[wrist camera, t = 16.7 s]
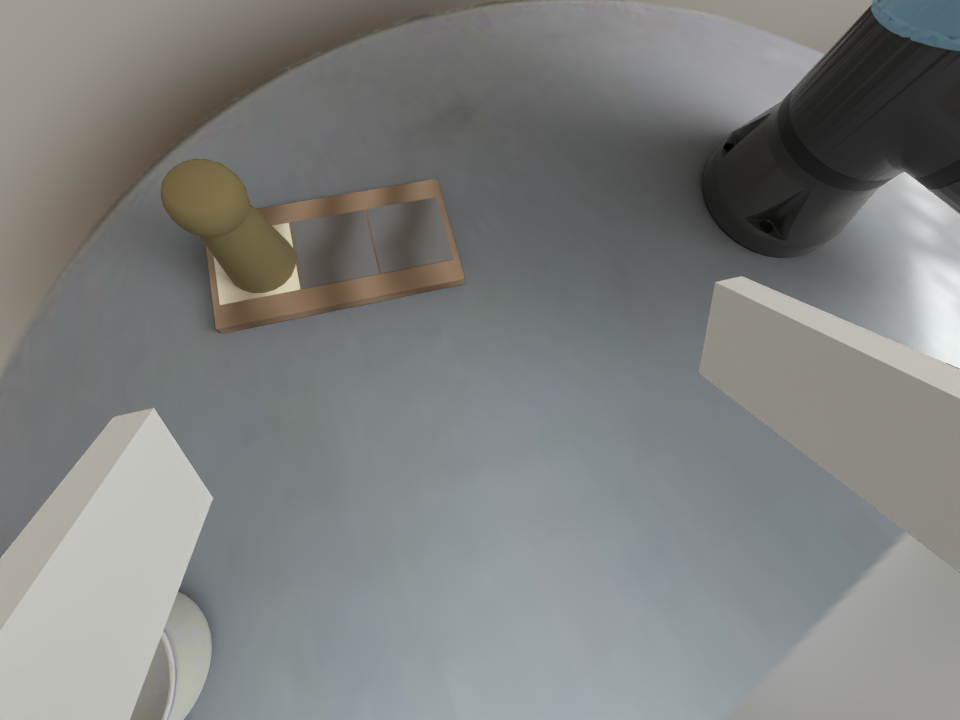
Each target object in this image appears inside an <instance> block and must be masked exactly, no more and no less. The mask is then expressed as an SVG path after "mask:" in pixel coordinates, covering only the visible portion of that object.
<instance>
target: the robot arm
mask: <svg viewBox="0 0 960 720" xmlns="http://www.w3.org/2000/svg"><path fill="white" fill-rule="evenodd" d="M902 172H906V173H908V174H909V175H910V176H912V177H913V178H915V179H916V180H917V181H918V182H920V183H921V184H922V185H924V186H925V187H926V188H927V189H928V190H930V191H931V192H932V193H934V194H935V195H936V196H937V197H939V198H940V199H941V200H942V201H944V202H945V203H946V204H948V205H949V206H950V207H951V208H953V209H954V210H955V211H956V212H958V213H959V214H960V0H873V3H872V5H871V6H870V7H869V8H868V9H867V10H866V11H865V12H864V13H863V14H862V16H861V17H860V18H859V19H858V20H857V21H856V22H855V23H854V24H853V25H852V26H851V27H850V28H849V30H848V31H847V32H846V33H845V34H844V35H843V36H842V37H841V38H840V39H839V40H838V41H837V42H836V43H835V44H834V46H833V47H832V48H831V49H830V50H829V51H828V52H827V53H826V54H825V55H824V56H823V57H822V58H821V59H820V61H819V62H818V63H817V64H816V65H815V66H814V67H813V68H812V69H811V70H810V71H809V72H808V73H807V74H806V76H805V77H804V78H803V79H802V80H801V81H800V82H799V83H798V84H797V85H796V87H795V88H794V89H793V90H792V91H791V92H790V93H789V94H788V95H787V96H786V97H785V98H784V99H783V101H781V102H780V103H778V104H777V105H775V106H773V107H772V108H770V109H769V110H767V111H765V112H764V113H762V114H761V115H759V116H757V117H756V118H754V119H753V120H751V121H749V122H748V123H746V124H745V125H743V126H741V127H740V128H738V129H737V130H735V131H734V132H732V133H731V134H730V135H729V136H728V137H726V138H725V140H724V141H723V142H722V143H721V144H720V145H719V146H718V148H717V149H716V150H715V151H714V152H713V154H712V155H711V156H710V158H709V159H708V161H707V163H706V166H705V169H704V173H703V183H702V184H703V193H704V197H705V200H706V203H707V206H708V208H709V210H710V212H711V214H712V216H713V217H714V219H715V220H716V221H717V223H718V224H719V225H720V226H721V228H722V229H723V230H724V231H725V232H726V233H727V234H728V235H729V236H731V237H732V238H733V239H734V240H736V241H737V242H739V243H740V244H742V245H743V246H745V247H747V248H749V249H751V250H753V251H756V252H758V253H761V254H765V255H768V256H774V257H795V256H800V255H804V254H806V253H809V252H811V251H813V250H815V249H816V248H818V247H820V246H821V245H823V244H824V243H826V242H828V241H829V240H831V239H832V238H834V237H835V236H836V235H837V234H838V233H840V232H841V231H842V229H843V228H844V227H845V226H846V225H847V224H848V223H849V221H850V220H851V219H852V218H853V217H854V216H855V214H856V213H857V212H858V211H859V210H860V208H861V207H862V206H863V205H864V204H865V203H866V201H867V200H868V199H869V198H870V197H871V196H872V194H873V193H874V192H875V191H876V190H877V189H878V188H879V187H880V186H882V185H883V184H885V183H886V182H888V181H889V180H891V179H892V178H894V177H895V176H897V175H899V174H901V173H902ZM699 374H701V375H702V376H703V377H705V378H706V379H707V380H709V381H710V382H711V383H712V384H714V385H715V386H716V387H718V388H719V389H720V390H722V391H723V392H724V393H725V394H727V395H728V396H729V397H731V398H732V399H733V400H735V401H736V402H737V403H739V404H740V405H741V406H742V407H744V408H745V409H746V410H748V411H749V412H750V413H752V414H753V415H754V416H756V417H757V418H758V419H759V420H761V421H762V422H763V423H765V424H766V425H767V426H769V427H770V428H771V429H773V430H774V431H775V432H776V433H778V434H779V435H780V436H782V437H783V438H784V439H786V440H787V441H788V442H789V443H791V444H792V445H793V446H795V447H796V448H797V449H799V450H800V451H801V452H803V453H804V454H805V455H806V456H808V457H809V458H810V459H812V460H813V461H814V462H816V463H817V464H818V465H820V466H821V467H822V468H823V469H825V470H826V471H827V472H829V473H830V474H831V475H833V476H834V477H835V478H836V479H838V480H839V481H840V482H842V483H843V484H844V485H846V486H847V487H848V488H850V489H851V490H852V491H853V492H855V493H856V494H857V495H859V496H860V497H861V498H863V499H864V500H865V501H867V502H868V503H869V504H870V505H872V506H873V507H874V508H876V509H877V510H878V511H880V512H881V513H882V514H884V515H885V516H886V517H887V518H889V519H890V520H891V521H893V522H894V523H895V524H897V525H898V526H899V527H900V528H902V529H903V530H904V531H906V532H907V533H908V534H910V535H911V536H912V537H914V538H915V539H916V540H917V541H919V542H920V543H922V544H923V545H924V546H925V547H927V548H928V549H929V550H931V551H932V552H933V553H935V554H936V555H937V556H939V557H940V558H941V559H942V560H944V561H945V562H946V563H948V564H949V565H950V566H952V567H953V568H954V569H955V570H957V571H958V572H959V573H960V369H959V368H957V367H954V366H952V365H950V364H947V363H944V362H942V361H939V360H937V359H935V358H932V357H930V356H928V355H925V354H923V353H921V352H918V351H916V350H913V349H911V348H909V347H906V346H904V345H902V344H899V343H897V342H895V341H892V340H890V339H888V338H885V337H883V336H881V335H878V334H876V333H874V332H871V331H869V330H867V329H864V328H862V327H860V326H857V325H855V324H853V323H850V322H848V321H846V320H843V319H841V318H839V317H836V316H834V315H832V314H829V313H827V312H825V311H822V310H820V309H818V308H815V307H813V306H811V305H808V304H806V303H804V302H801V301H799V300H797V299H794V298H792V297H789V296H787V295H785V294H782V293H780V292H778V291H775V290H773V289H771V288H768V287H766V286H764V285H761V284H759V283H757V282H754V281H752V280H750V279H747V278H745V277H743V276H740V277H736V278H731V279H727V280H722V281H718V282H715V286H714V291H713V297H712V303H711V308H710V314H709V319H708V325H707V330H706V336H705V342H704V347H703V353H702V358H701V364H700V369H699ZM212 499H213V497H212V496H211V494H210V493H209V491H208V490H207V488H206V487H205V485H204V484H203V482H202V481H201V479H200V478H199V476H198V474H197V473H196V471H195V470H194V468H193V467H192V465H191V464H190V462H189V461H188V459H187V458H186V456H185V455H184V453H183V452H182V450H181V449H180V447H179V446H178V444H177V443H176V441H175V439H174V438H173V436H172V435H171V433H170V432H169V430H168V429H167V427H166V426H165V424H164V423H163V421H162V420H161V418H160V417H159V415H158V414H157V412H156V411H155V409H154V408H151V409H147V410H142V411H138V412H133V413H129V414H125V415H120V416H116V417H113V418H112V419H111V421H110V422H109V423H108V424H107V426H106V427H105V428H104V429H103V431H102V432H101V433H100V434H99V436H98V437H97V438H96V439H95V441H94V442H93V443H92V444H91V446H90V447H89V448H88V449H87V451H86V452H85V453H84V454H83V456H82V457H81V458H80V459H79V461H78V462H77V463H76V464H75V466H74V467H73V468H72V469H71V471H70V472H69V473H68V474H67V476H66V477H65V478H64V479H63V481H62V482H61V483H60V484H59V486H58V487H57V488H56V489H55V491H54V492H53V493H52V494H51V496H50V497H49V498H48V499H47V501H46V502H45V503H44V504H43V506H42V507H41V508H40V509H39V511H38V512H37V513H36V514H35V516H34V517H33V518H32V519H31V521H30V522H29V523H28V524H27V526H26V527H25V528H24V529H23V531H22V532H21V533H20V534H19V536H18V537H17V538H16V539H15V541H14V542H13V543H12V544H11V546H10V547H9V548H8V549H7V550H6V552H5V553H4V554H3V555H2V557H1V558H0V720H130V718H131V715H132V713H133V710H134V707H135V705H136V702H137V699H138V697H139V694H140V691H141V689H142V686H143V683H144V681H145V678H146V675H147V673H148V670H149V667H150V665H151V662H152V659H153V657H154V654H155V651H156V649H157V646H158V643H159V641H160V638H161V635H162V633H163V630H164V627H165V625H166V622H167V619H168V617H169V614H170V611H171V609H172V606H173V603H174V601H175V598H176V595H177V593H178V590H179V587H180V585H181V582H182V579H183V577H184V574H185V571H186V569H187V566H188V563H189V561H190V558H191V555H192V553H193V550H194V547H195V545H196V542H197V539H198V537H199V534H200V531H201V529H202V526H203V523H204V521H205V518H206V515H207V513H208V510H209V507H210V505H211V502H212Z"/></svg>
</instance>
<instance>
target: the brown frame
mask: <svg viewBox="0 0 960 720" xmlns="http://www.w3.org/2000/svg"><path fill="white" fill-rule="evenodd" d="M256 210H257V211H258V212H259V213H260V214H261V215H262V216H263V217H264V218H265V219H266V220H267V221H268V222H269V223H270V224H271V225H272V226H273V227H274V228H275V229H276V230H277V231H278V232H279V233H280V234H281V235H282V236H283V237H284V238H285V239H286V240H287V241H288V242H289V243H290V245H291V246H292V247H293V249H294V252H295V256H296V265H295V269H294V271H293V273H292V276H291V277H290V278H289V279H288V280H287V282H286V283H285V284H283V285H282V286H280V287H279V288H277V289H276V290H273V291H269V292H266V293H251V292H247V291H244V290H242V289H240V288H239V287H237V286H236V285H234V284H233V282H232V281H231V280H230V278H229V277H228V275H227V274H226V273H225V271H224V270H223V268H222V267H221V266H220V264H219V263H218V261H217V260H216V259H215V257H214V256H213V254H212V253H211V252H210V250H209V249H208V247H207V246H206V254H207V262H208V270H209V278H210V286H211V294H212V302H213V310H214V318H215V326H216V330H218V331H220V332H221V333H228V332H233V331H237V330H242V329H247V328H252V327H257V326H262V325H267V324H272V323H276V322H281V321H286V320H291V319H296V318H301V317H306V316H311V315H315V314H320V313H325V312H330V311H335V310H340V309H345V308H350V307H354V306H359V305H364V304H369V303H374V302H379V301H384V300H389V299H393V298H398V297H403V296H408V295H413V294H418V293H423V292H428V291H432V290H437V289H442V288H447V287H452V286H457V285H462V284H464V280H465V278H464V274H463V271H462V267H461V263H460V260H459V256H458V252H457V249H456V245H455V241H454V238H453V234H452V230H451V227H450V223H449V219H448V216H447V212H446V208H445V205H444V201H443V197H442V194H441V190H440V186H439V183H438V179H432V180H426V181H420V182H414V183H408V184H402V185H396V186H390V187H384V188H378V189H372V190H366V191H360V192H354V193H348V194H342V195H336V196H330V197H324V198H318V199H312V200H306V201H300V202H294V203H288V204H282V205H276V206H270V207H264V208H258V209H256Z"/></svg>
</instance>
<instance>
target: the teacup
mask: <svg viewBox="0 0 960 720" xmlns="http://www.w3.org/2000/svg"><path fill="white" fill-rule="evenodd" d="M211 655H212V641H211V634H210V629H209V626H208V623H207V620H206V618H205V616H204V615H203V613H202V611H201V610H200V608H199V607H198V606H197V605H196V604H195V603H194V602H193V601H192V600H191V599H190V598H189V597H187V596H186V595H184V594H182V593H180V592H179V591H178V593H177V595H176V598H175V601H174V603H173V606H172V609H171V611H170V614H169V617H168V619H167V622H166V625H165V627H164V630H163V633H162V635H161V638H160V641H159V643H158V646H157V649H156V651H155V654H154V657H153V659H152V662H151V665H150V667H149V670H148V673H147V675H146V678H145V681H144V683H143V686H142V689H141V691H140V694H139V697H138V699H137V702H136V705H135V707H134V710H133V713H132V715H131V718H130V720H184V719H185V717H186V716H187V715H188V713H189V712H190V710H191V709H192V707H193V706H194V704H195V702H196V700H197V699H198V697H199V695H200V693H201V691H202V689H203V686H204V684H205V681H206V678H207V675H208V672H209V668H210V662H211Z"/></svg>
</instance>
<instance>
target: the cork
mask: <svg viewBox="0 0 960 720" xmlns="http://www.w3.org/2000/svg"><path fill="white" fill-rule="evenodd" d="M161 199H162V203H163V206H164V208H165V210H166V212H167V213H168V214H169V216H170V217H171V218H172V220H173V221H174V222H175V223H176V224H178V225H179V226H180V227H182V228H183V229H185V230H186V231H188V232H190V233H192V234H195V235H198V236H200V238H201V239H202V240H203V242H204V243H205V245H206V246H207V247H208V249H209V250H210V252H211V253H212V254H213V256H214V257H215V259H216V260H217V261H218V263H219V264H220V266H221V267H222V268H223V270H224V271H225V273H226V274H227V275H228V277H229V278H230V280H231V281H232V282H233V284H234V285H236V286H237V287H239V288H240V289H242V290H244V291H247V292H251V293H266V292H269V291H273V290H276V289H277V288H279V287H280V286H282V285H283V284H285V283H286V282H287V280H288V279H289V278H290V277H291V276H292V273H293V271H294V269H295V265H296V256H295V252H294V249H293V247H292V246H291V245H290V243H289V242H288V241H287V240H286V239H285V238H284V237H283V236H282V235H281V234H280V233H279V232H278V231H277V230H276V229H275V228H274V227H273V226H272V225H271V224H270V223H269V222H268V221H267V220H266V219H265V218H264V217H263V216H262V215H261V214H260V213H259V212H258V211H257V210H256V209H255V208H254V207H252V206H251V205H250V202H249V198H248V194H247V191H246V188H245V186H244V184H243V183H242V181H241V180H240V179H239V178H238V176H237V175H236V174H235V173H234V172H233V171H232V170H230V169H229V168H227V167H226V166H224V165H223V164H221V163H218V162H214V161H211V160H207V159H192V160H188V161H184V162H182V163H180V164H178V165H176V166H174V167H173V168H172V169H171V170H170V171H169V172H168V173H167V174H166V176H165V178H164V180H163V182H162V187H161Z"/></svg>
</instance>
